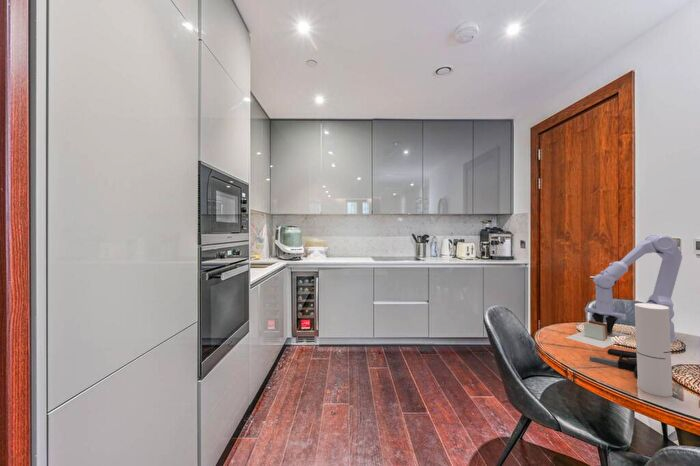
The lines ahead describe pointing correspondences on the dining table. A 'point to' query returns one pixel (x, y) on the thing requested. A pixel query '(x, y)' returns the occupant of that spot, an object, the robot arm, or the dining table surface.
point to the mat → (595, 342)
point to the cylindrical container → (653, 349)
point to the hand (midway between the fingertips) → (605, 331)
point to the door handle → (621, 362)
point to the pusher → (602, 325)
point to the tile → (594, 331)
